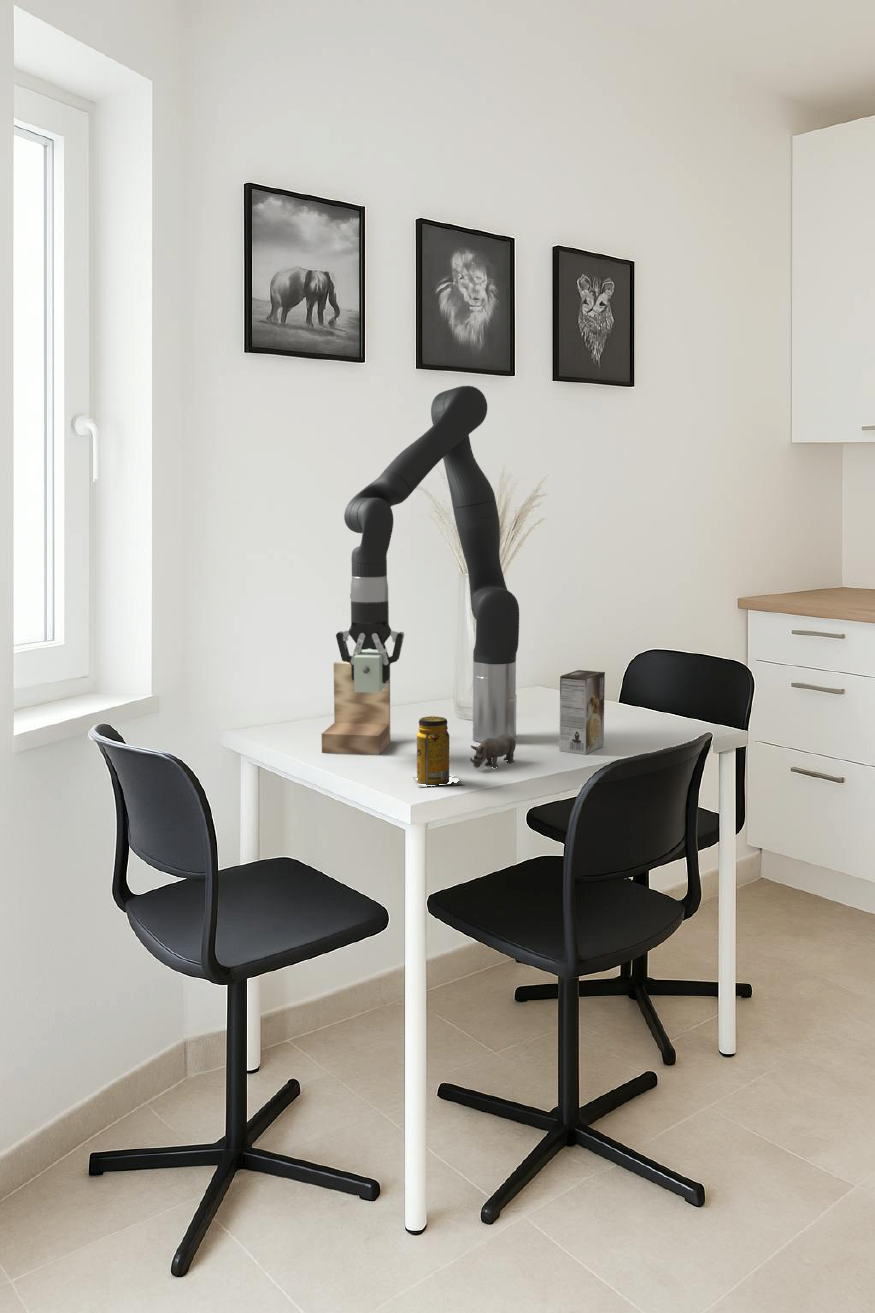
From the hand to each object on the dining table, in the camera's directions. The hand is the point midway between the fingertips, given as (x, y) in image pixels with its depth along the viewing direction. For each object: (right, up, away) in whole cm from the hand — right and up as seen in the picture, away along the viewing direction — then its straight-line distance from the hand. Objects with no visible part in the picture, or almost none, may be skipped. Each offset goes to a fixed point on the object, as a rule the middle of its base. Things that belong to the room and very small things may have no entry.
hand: (370, 682), depth 216 cm
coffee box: (+44, -14, +9) cm, 47 cm away
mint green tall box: (0, -1, 0) cm, 1 cm away
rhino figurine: (+24, -17, -6) cm, 30 cm away
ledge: (-4, -14, +9) cm, 17 cm away
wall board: (-3, -13, +16) cm, 21 cm away
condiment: (+14, -18, -17) cm, 28 cm away
